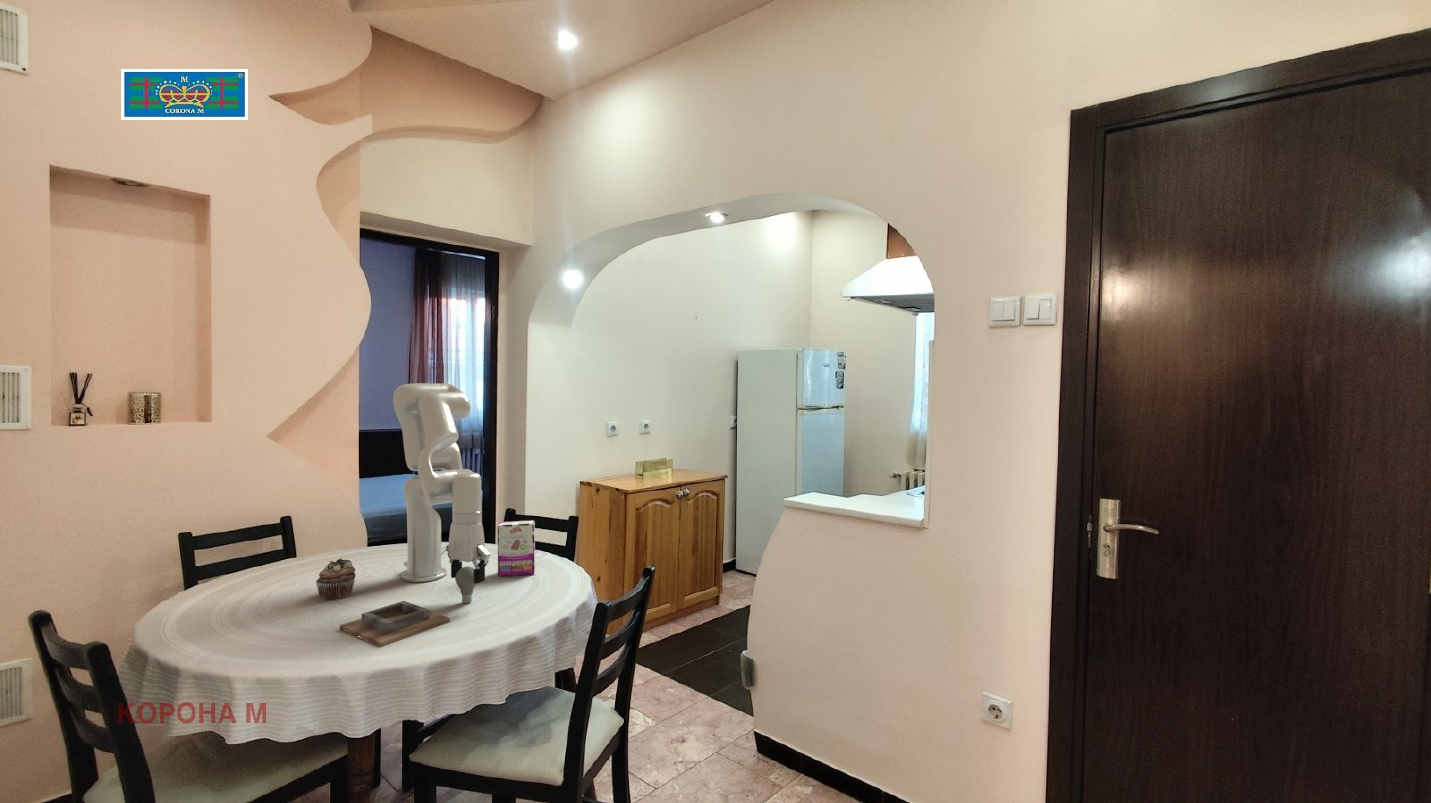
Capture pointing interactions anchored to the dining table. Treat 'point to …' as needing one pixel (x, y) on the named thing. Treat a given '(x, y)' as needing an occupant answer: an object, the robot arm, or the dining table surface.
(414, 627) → the socket holder
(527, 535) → the candy bar box
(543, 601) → the dining table surface
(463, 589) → the light bulb
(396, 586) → the dining table surface
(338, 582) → the cupcake
